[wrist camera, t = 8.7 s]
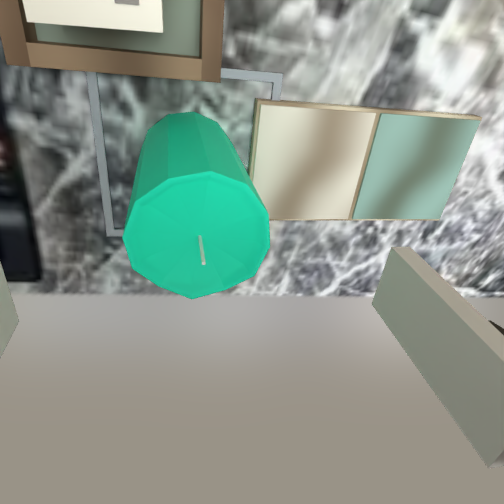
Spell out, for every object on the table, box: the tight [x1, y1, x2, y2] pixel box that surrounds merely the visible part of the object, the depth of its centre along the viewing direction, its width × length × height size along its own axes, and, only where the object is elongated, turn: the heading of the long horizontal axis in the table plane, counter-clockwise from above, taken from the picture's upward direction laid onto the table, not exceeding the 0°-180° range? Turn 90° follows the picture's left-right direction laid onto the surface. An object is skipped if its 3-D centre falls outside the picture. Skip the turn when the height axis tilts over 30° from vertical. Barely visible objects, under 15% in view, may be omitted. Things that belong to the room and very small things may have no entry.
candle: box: [122, 112, 270, 299], centre depth 18 cm, size 6×6×12 cm
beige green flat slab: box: [248, 98, 482, 220], centre depth 25 cm, size 16×8×1 cm, turn 84°
